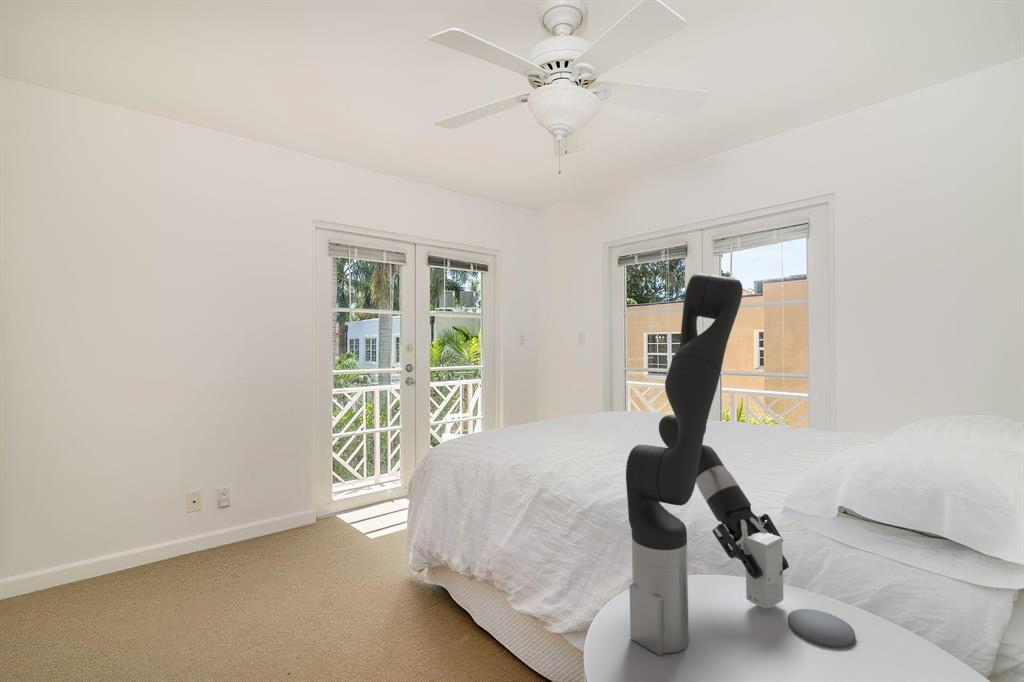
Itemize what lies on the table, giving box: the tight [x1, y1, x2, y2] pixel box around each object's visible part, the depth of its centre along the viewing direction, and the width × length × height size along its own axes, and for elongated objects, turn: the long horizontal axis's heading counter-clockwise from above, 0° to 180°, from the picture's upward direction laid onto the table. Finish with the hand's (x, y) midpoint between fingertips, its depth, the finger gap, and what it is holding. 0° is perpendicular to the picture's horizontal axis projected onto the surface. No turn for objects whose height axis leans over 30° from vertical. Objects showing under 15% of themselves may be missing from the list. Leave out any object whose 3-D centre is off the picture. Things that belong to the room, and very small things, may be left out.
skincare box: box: [745, 532, 784, 610], centre depth 94 cm, size 6×4×12 cm
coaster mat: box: [787, 608, 856, 649], centre depth 86 cm, size 10×10×1 cm
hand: (771, 572), depth 92 cm, fingers closed on skincare box, 6 cm apart
